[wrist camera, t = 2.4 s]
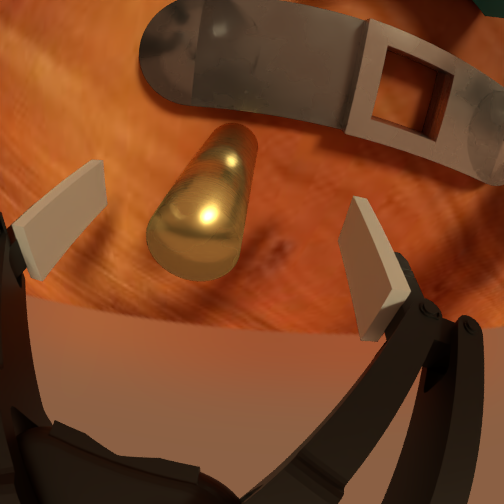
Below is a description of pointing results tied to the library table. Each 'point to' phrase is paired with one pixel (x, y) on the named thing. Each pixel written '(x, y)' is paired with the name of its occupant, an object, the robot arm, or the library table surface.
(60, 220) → the robot arm
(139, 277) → the library table surface
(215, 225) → the pin
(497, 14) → the teal l-shaped bracket
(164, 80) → the slotted link plate
